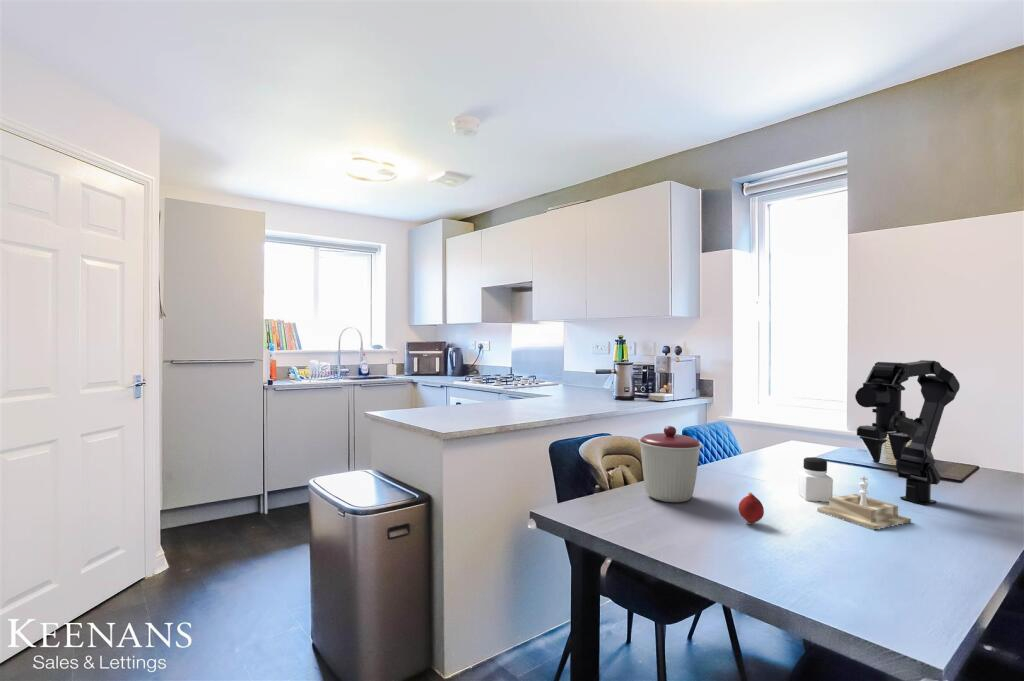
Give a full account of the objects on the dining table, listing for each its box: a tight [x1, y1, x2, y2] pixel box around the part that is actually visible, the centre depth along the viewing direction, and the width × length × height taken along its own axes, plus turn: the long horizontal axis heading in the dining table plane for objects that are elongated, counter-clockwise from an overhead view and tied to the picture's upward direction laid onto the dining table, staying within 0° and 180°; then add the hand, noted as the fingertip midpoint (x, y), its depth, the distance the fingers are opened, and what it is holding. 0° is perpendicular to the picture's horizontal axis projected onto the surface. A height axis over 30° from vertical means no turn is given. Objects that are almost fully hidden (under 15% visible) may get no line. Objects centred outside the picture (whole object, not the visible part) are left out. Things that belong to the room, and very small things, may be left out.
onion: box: [738, 491, 765, 525], centre depth 131 cm, size 6×6×8 cm
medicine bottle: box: [797, 456, 834, 503], centre depth 154 cm, size 7×7×12 cm
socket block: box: [816, 493, 912, 530], centre depth 138 cm, size 15×15×4 cm
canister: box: [638, 425, 703, 503], centre depth 152 cm, size 18×18×21 cm
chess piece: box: [858, 474, 869, 507], centre depth 138 cm, size 5×5×10 cm
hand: (887, 461), depth 146 cm, fingers open, 9 cm apart
